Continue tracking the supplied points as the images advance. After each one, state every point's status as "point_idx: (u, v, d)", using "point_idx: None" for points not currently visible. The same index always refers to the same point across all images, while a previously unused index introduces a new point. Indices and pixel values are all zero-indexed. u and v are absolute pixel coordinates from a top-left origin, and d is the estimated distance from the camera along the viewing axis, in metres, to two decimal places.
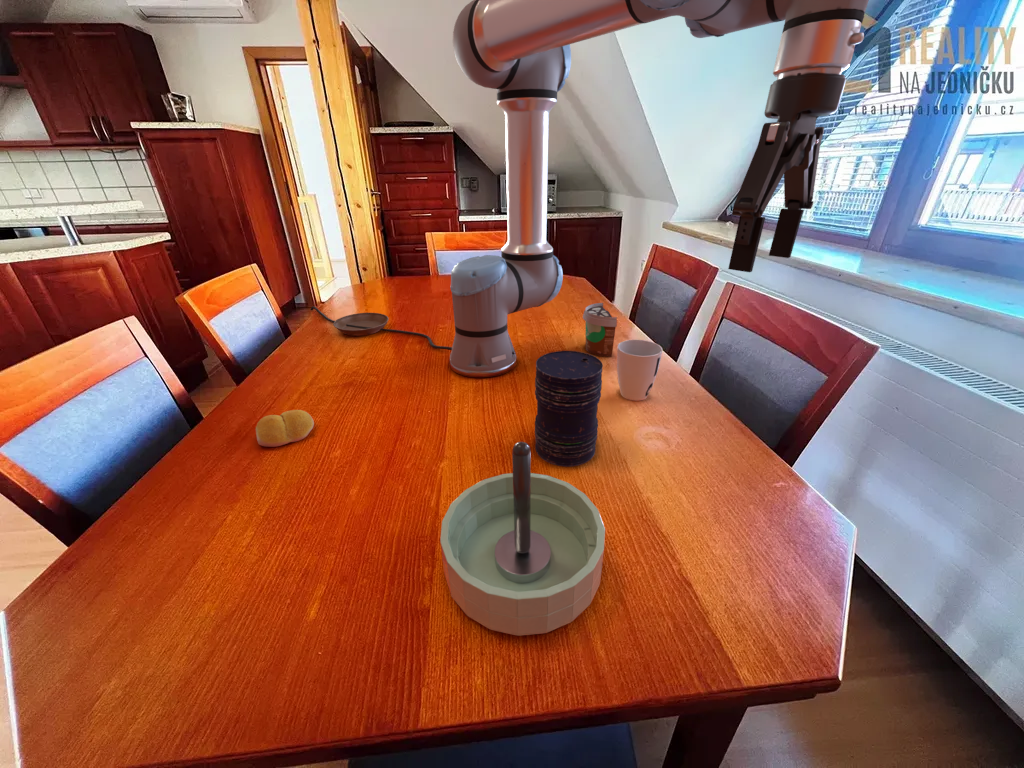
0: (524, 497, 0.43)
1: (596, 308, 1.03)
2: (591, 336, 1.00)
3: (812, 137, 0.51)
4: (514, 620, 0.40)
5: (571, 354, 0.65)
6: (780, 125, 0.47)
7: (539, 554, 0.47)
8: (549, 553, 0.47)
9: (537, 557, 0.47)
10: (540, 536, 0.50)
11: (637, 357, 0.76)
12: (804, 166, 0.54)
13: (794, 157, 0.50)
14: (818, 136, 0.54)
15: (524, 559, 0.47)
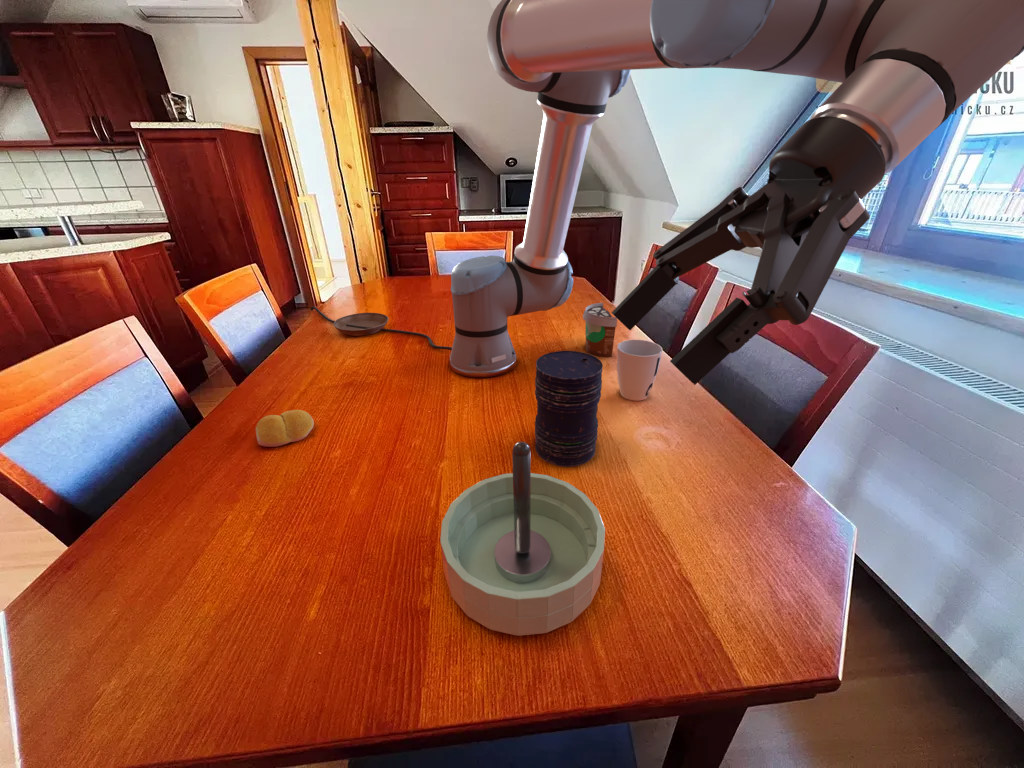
0: (524, 497, 0.43)
1: (596, 308, 1.03)
2: (591, 336, 1.00)
3: None
4: (514, 620, 0.40)
5: (571, 354, 0.65)
6: (865, 212, 0.29)
7: (539, 554, 0.47)
8: (549, 553, 0.47)
9: (537, 557, 0.47)
10: (540, 536, 0.50)
11: (637, 357, 0.76)
12: (737, 247, 0.39)
13: None
14: None
15: (524, 559, 0.47)
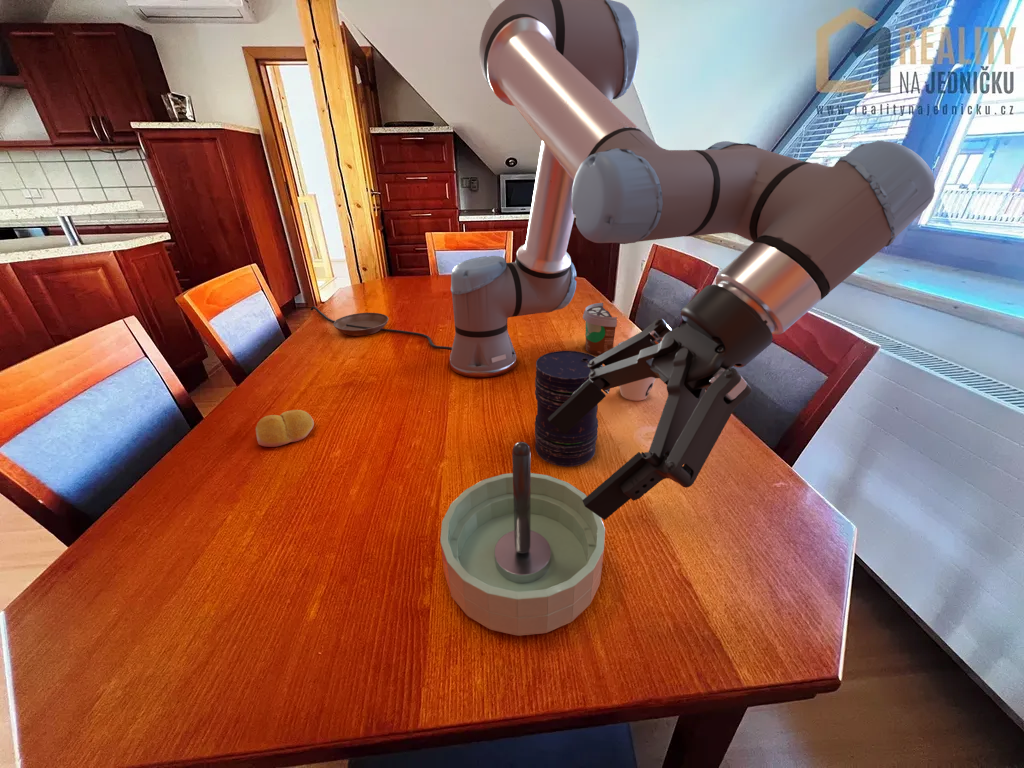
0: (524, 497, 0.43)
1: (596, 308, 1.03)
2: (591, 336, 1.00)
3: None
4: (514, 620, 0.40)
5: (571, 354, 0.65)
6: (746, 388, 0.33)
7: (539, 554, 0.47)
8: (549, 553, 0.47)
9: (537, 557, 0.47)
10: (540, 536, 0.50)
11: None
12: (656, 375, 0.43)
13: None
14: None
15: (524, 559, 0.47)
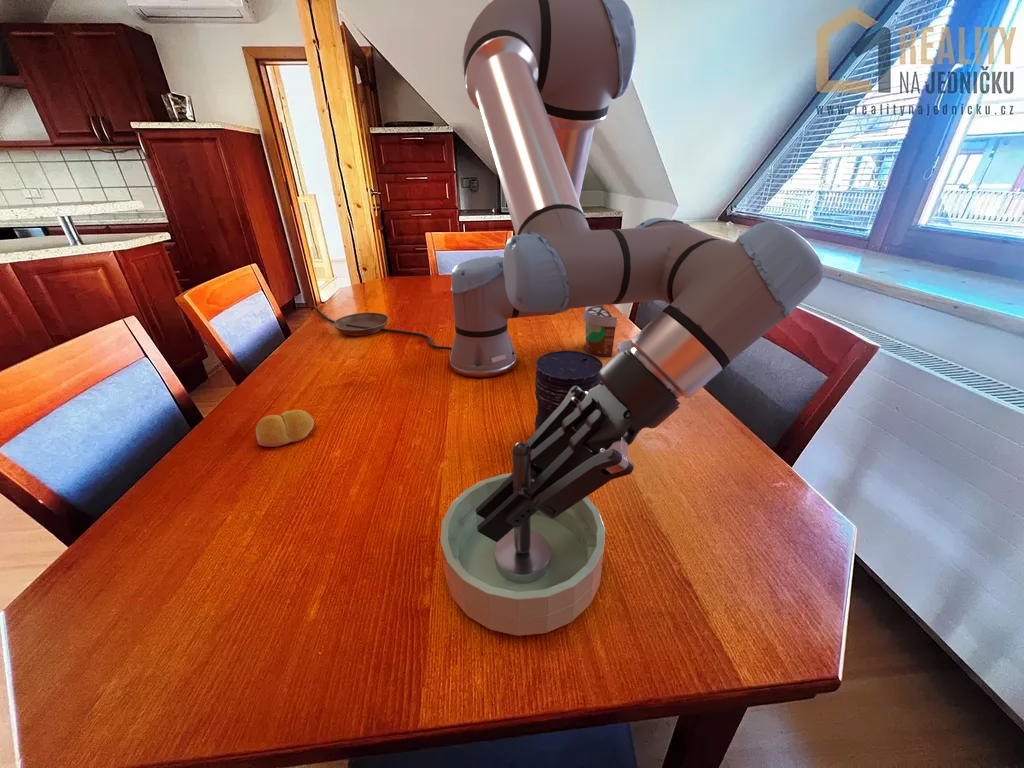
0: None
1: (596, 308, 1.03)
2: (591, 336, 1.00)
3: None
4: (514, 620, 0.40)
5: (571, 354, 0.65)
6: (625, 470, 0.36)
7: (539, 554, 0.47)
8: (549, 553, 0.47)
9: (537, 557, 0.47)
10: (540, 536, 0.50)
11: None
12: None
13: None
14: None
15: (524, 559, 0.47)
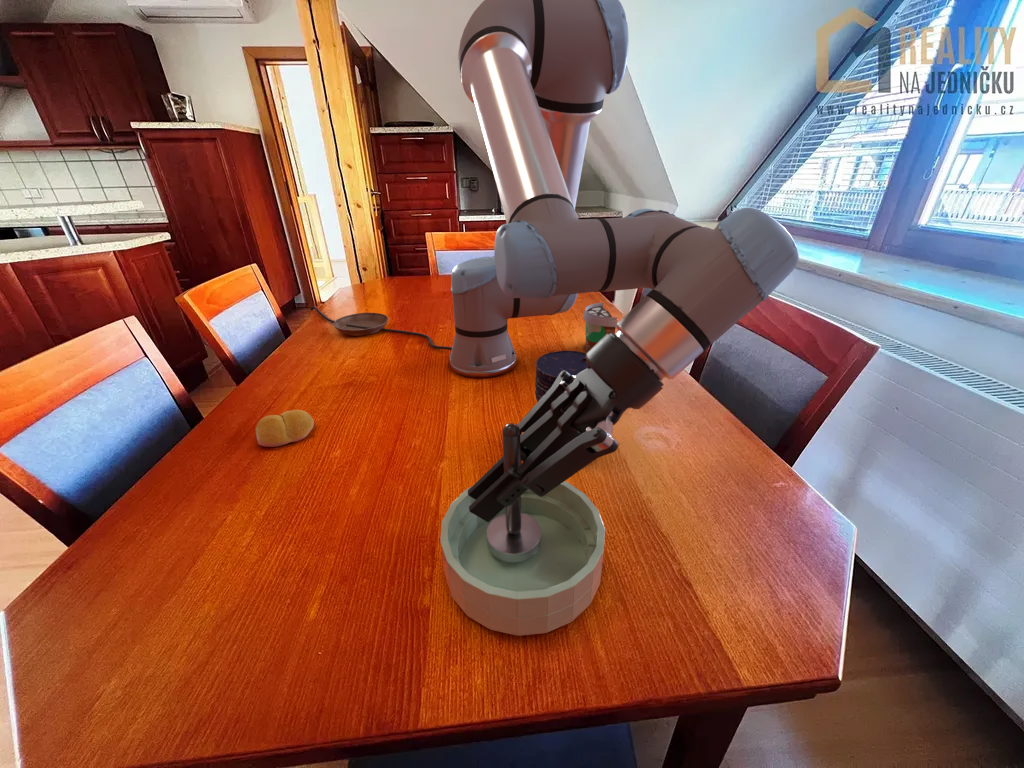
0: None
1: (596, 308, 1.03)
2: (591, 336, 1.00)
3: None
4: (514, 620, 0.40)
5: (571, 354, 0.65)
6: (610, 448, 0.37)
7: (530, 535, 0.49)
8: (539, 533, 0.49)
9: (527, 537, 0.48)
10: (531, 518, 0.51)
11: None
12: None
13: None
14: None
15: (515, 539, 0.48)
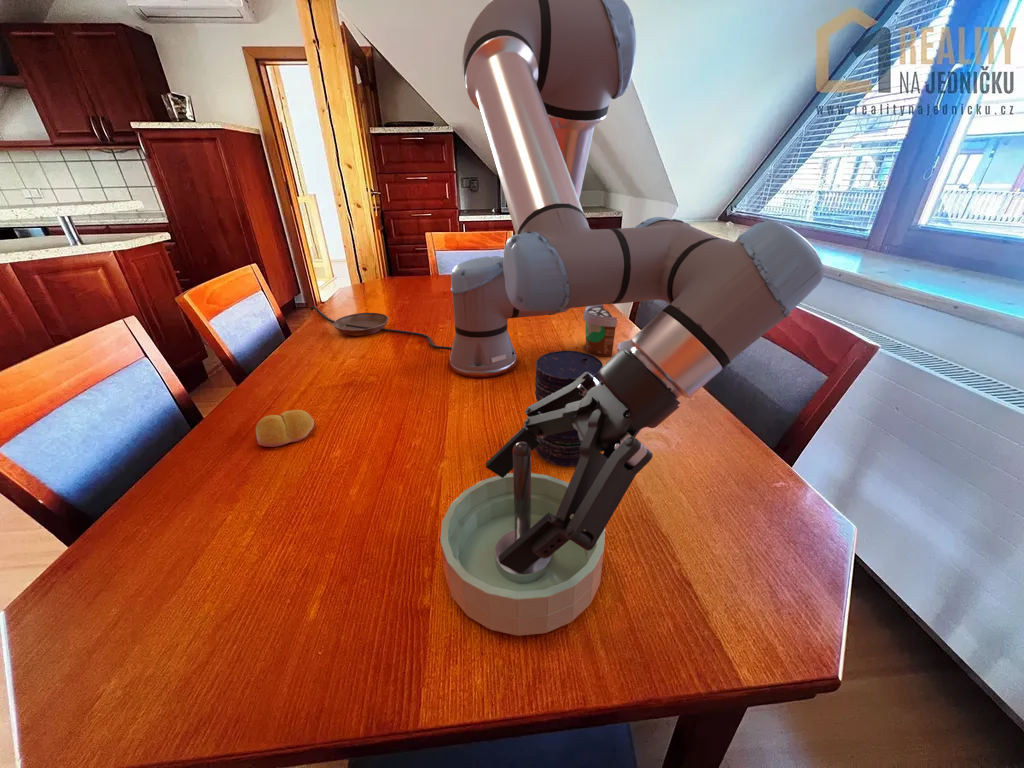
0: (524, 497, 0.43)
1: (596, 308, 1.03)
2: (591, 336, 1.00)
3: None
4: (514, 620, 0.40)
5: (571, 354, 0.65)
6: (647, 455, 0.35)
7: None
8: None
9: None
10: None
11: None
12: None
13: None
14: None
15: None
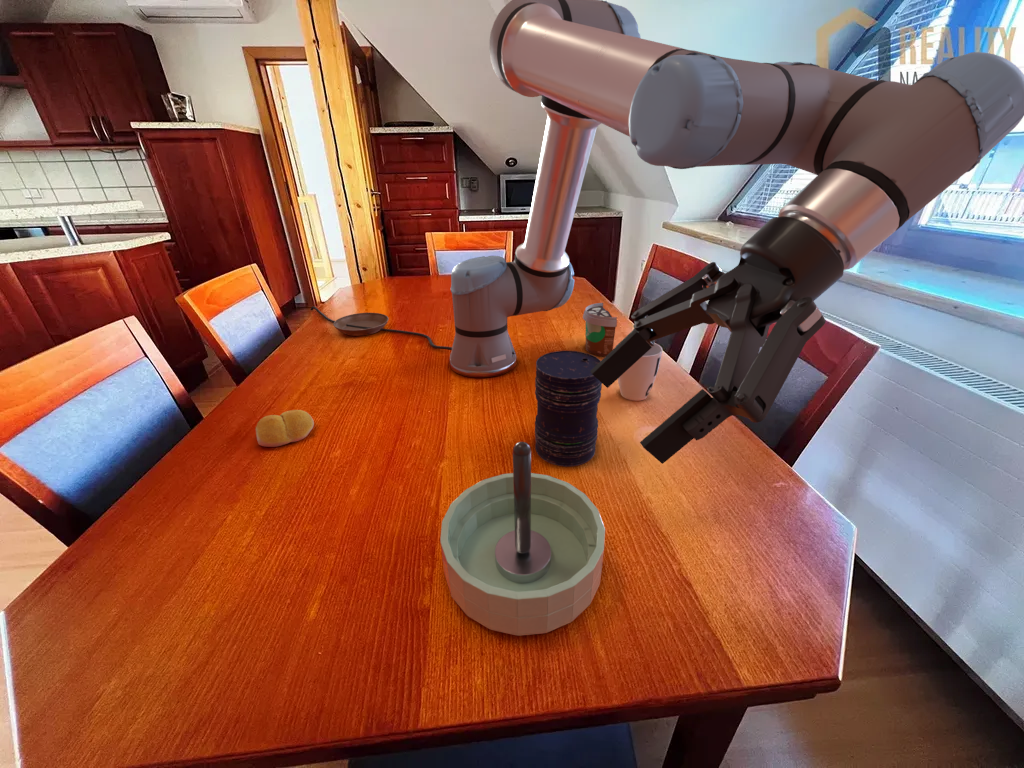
0: (524, 497, 0.43)
1: (596, 308, 1.03)
2: (591, 336, 1.00)
3: None
4: (514, 620, 0.40)
5: (571, 354, 0.65)
6: (821, 319, 0.31)
7: (539, 554, 0.47)
8: (549, 553, 0.47)
9: (537, 557, 0.47)
10: (540, 536, 0.50)
11: None
12: (709, 321, 0.41)
13: None
14: None
15: (524, 559, 0.47)
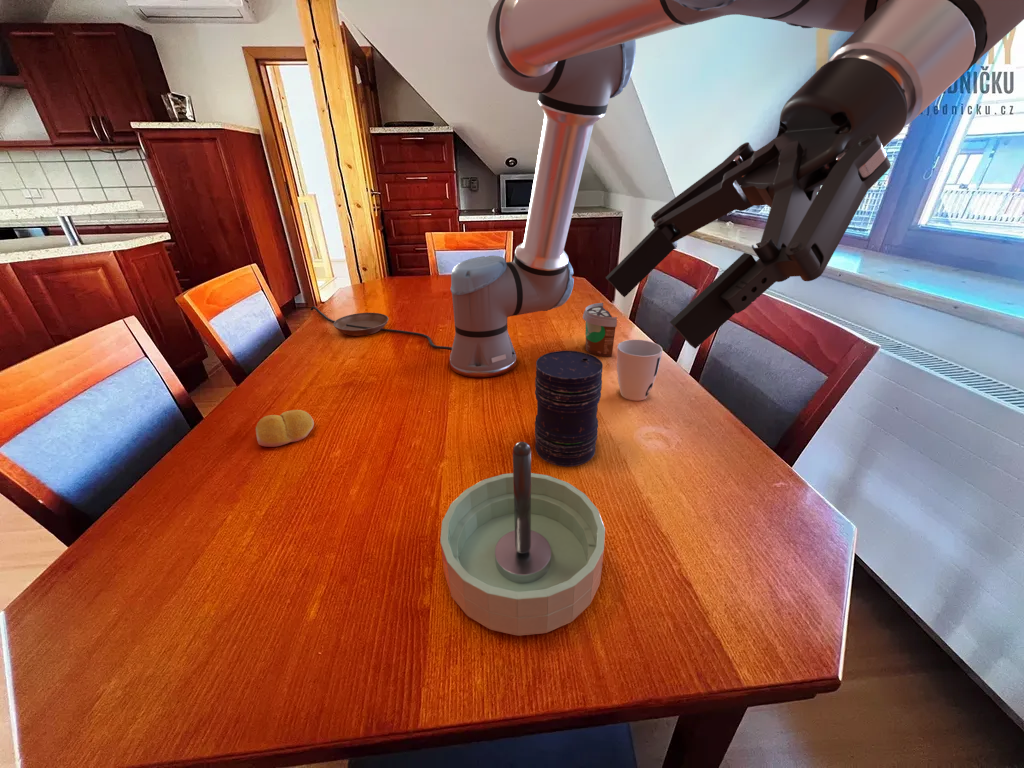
0: (524, 497, 0.43)
1: (596, 308, 1.03)
2: (591, 336, 1.00)
3: None
4: (514, 620, 0.40)
5: (571, 354, 0.65)
6: (886, 161, 0.27)
7: (539, 554, 0.47)
8: (549, 553, 0.47)
9: (537, 557, 0.47)
10: (540, 536, 0.50)
11: (637, 357, 0.76)
12: (742, 206, 0.37)
13: None
14: None
15: (524, 559, 0.47)
